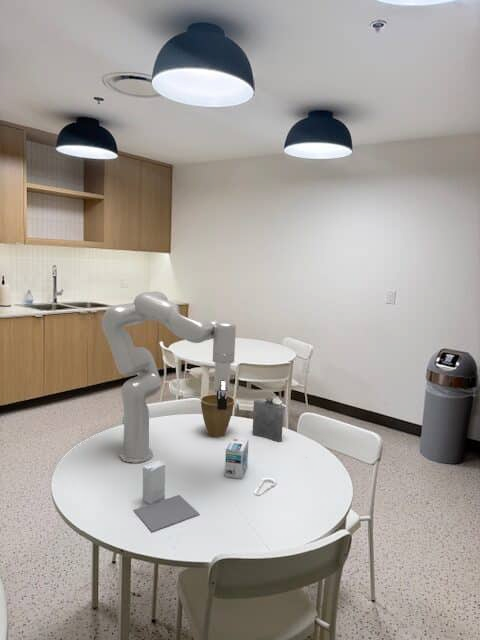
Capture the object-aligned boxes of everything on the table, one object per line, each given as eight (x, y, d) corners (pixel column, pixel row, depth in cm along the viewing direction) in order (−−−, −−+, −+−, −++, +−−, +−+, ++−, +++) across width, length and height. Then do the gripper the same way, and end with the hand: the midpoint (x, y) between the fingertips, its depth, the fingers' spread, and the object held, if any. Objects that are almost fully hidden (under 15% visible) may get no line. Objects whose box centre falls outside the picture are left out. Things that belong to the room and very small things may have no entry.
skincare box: (156, 493, 150) (157, 459, 148) (165, 498, 147) (165, 463, 145) (141, 500, 145) (141, 465, 143) (150, 506, 142) (150, 470, 140)
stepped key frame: (266, 501, 150) (267, 496, 149) (252, 497, 151) (252, 493, 151) (278, 481, 161) (278, 477, 161) (264, 478, 163) (265, 474, 163)
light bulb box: (242, 479, 161) (243, 451, 159) (224, 477, 162) (225, 449, 161) (247, 466, 171) (249, 439, 170) (230, 463, 173) (231, 437, 171)
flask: (255, 432, 204) (257, 394, 201) (283, 440, 197) (285, 400, 194) (251, 434, 201) (252, 396, 198) (279, 442, 194) (282, 402, 191)
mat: (133, 510, 139) (133, 509, 139) (179, 495, 149) (179, 494, 149) (151, 532, 129) (151, 531, 129) (199, 515, 138) (199, 513, 138)
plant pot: (232, 441, 193) (234, 405, 191) (198, 439, 193) (199, 404, 191) (233, 427, 208) (234, 394, 206) (201, 426, 208) (202, 393, 206)
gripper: (212, 351, 163) (210, 396, 166) (213, 363, 146) (211, 413, 149) (232, 351, 164) (230, 396, 167) (235, 363, 147) (233, 413, 150)
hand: (221, 404), depth 158 cm, fingers open, 9 cm apart
